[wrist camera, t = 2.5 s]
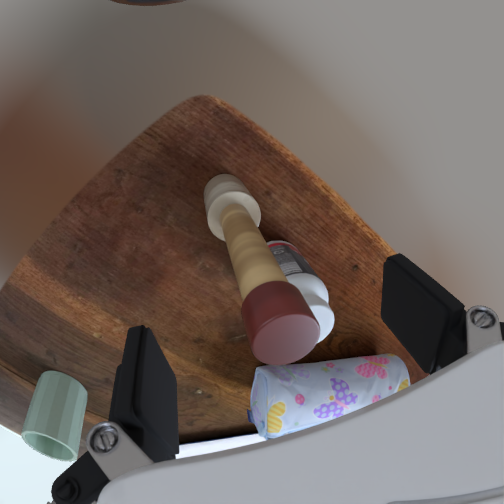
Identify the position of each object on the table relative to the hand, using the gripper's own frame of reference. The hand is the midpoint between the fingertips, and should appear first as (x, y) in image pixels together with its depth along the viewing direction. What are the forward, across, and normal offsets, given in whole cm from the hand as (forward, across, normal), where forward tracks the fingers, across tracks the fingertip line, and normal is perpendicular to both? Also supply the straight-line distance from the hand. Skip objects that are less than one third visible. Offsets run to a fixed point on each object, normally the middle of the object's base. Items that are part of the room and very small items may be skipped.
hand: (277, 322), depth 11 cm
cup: (+17, +28, +18) cm, 37 cm away
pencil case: (+17, -7, +25) cm, 31 cm away
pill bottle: (+17, -3, +7) cm, 19 cm away
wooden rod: (+16, 0, -1) cm, 17 cm away
